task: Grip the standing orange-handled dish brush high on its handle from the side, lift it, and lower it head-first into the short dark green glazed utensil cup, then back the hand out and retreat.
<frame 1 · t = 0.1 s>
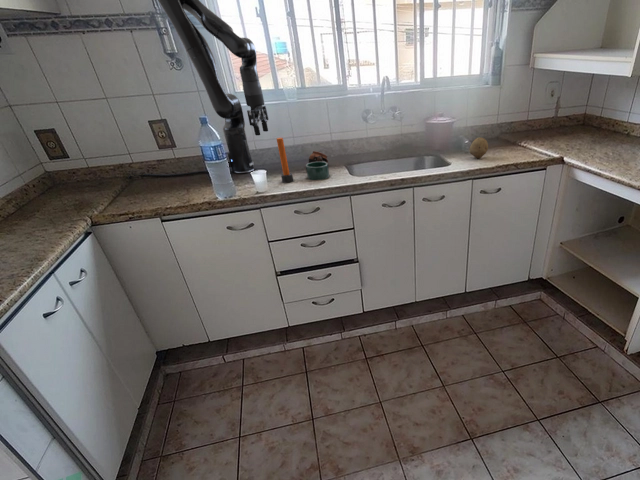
hand: (261, 133, 175), 17 cm above the worktop, tool pointing down, fingers open, 8 cm apart
dish brush: (287, 181, 171), on the worktop
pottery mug: (318, 167, 189), on the worktop
brown potato: (478, 159, 193), on the worktop
utensil cup: (318, 176, 175), on the worktop
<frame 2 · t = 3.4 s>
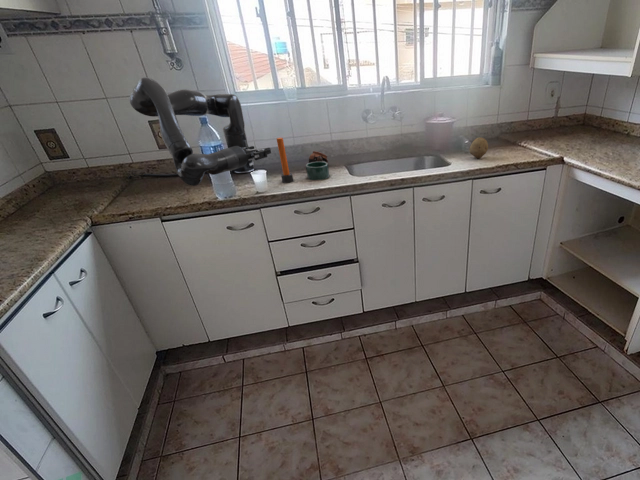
hand: (261, 149, 154), 16 cm above the worktop, tool horizontal, fingers open, 8 cm apart
nothing on the worktop moved.
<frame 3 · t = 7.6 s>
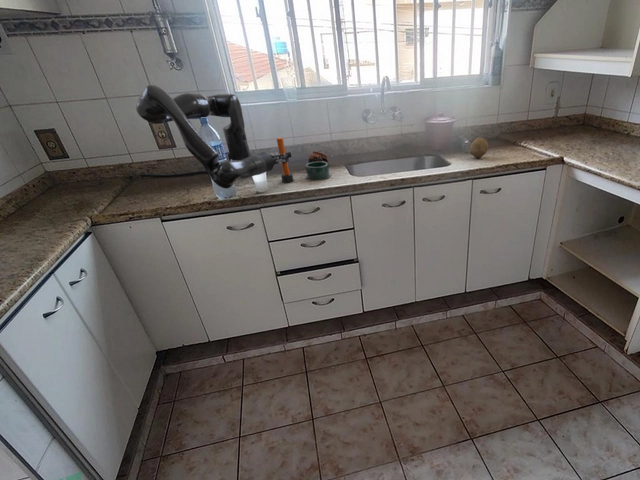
hand: (287, 154, 167), 11 cm above the worktop, tool horizontal, fingers closed on dish brush, 2 cm apart
dish brush: (287, 181, 171), on the worktop, touching gripper
everything else where it was.
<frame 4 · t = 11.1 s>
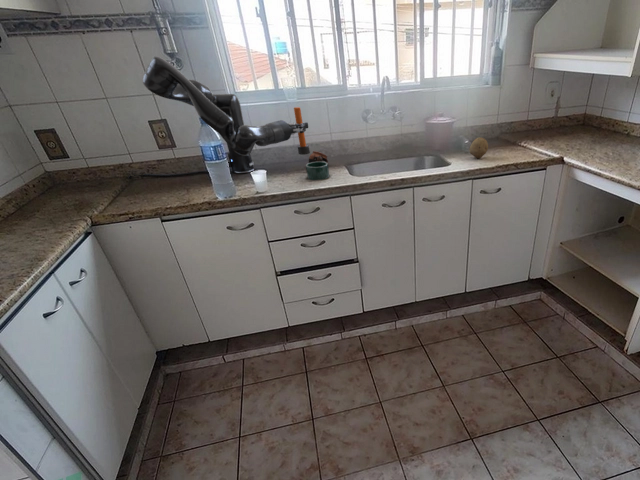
hand: (304, 124, 163), 22 cm above the worktop, tool horizontal, fingers closed on dish brush, 2 cm apart
dish brush: (304, 153, 167), point 11 cm above the worktop, touching gripper
everything else where it was.
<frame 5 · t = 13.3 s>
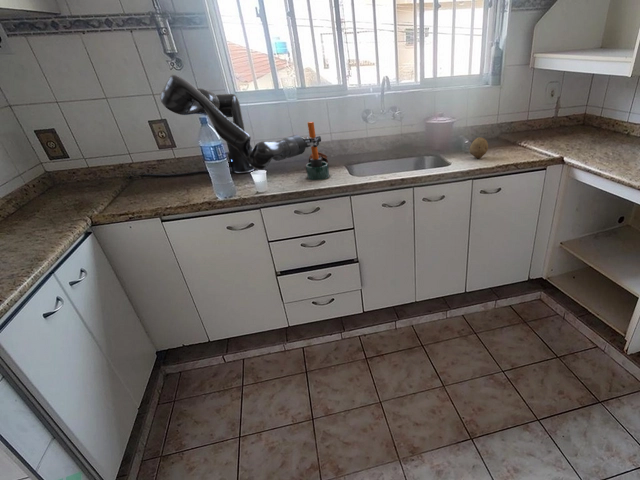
hand: (317, 138, 168), 16 cm above the worktop, tool horizontal, fingers closed on dish brush, 2 cm apart
dish brush: (316, 165, 172), point 5 cm above the worktop, touching gripper
everything else where it was.
when the fingers open (12 cm above the worktop, at t = 14.8 s): dish brush stays where it is, resting on utensil cup.
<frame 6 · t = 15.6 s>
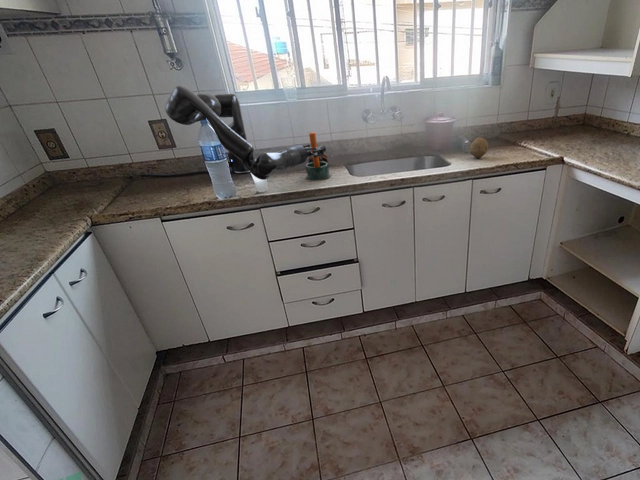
hand: (317, 147, 169), 12 cm above the worktop, tool horizontal, fingers open, 8 cm apart
dish brush: (318, 175, 174), point 1 cm above the worktop, touching utensil cup
everything else where it was.
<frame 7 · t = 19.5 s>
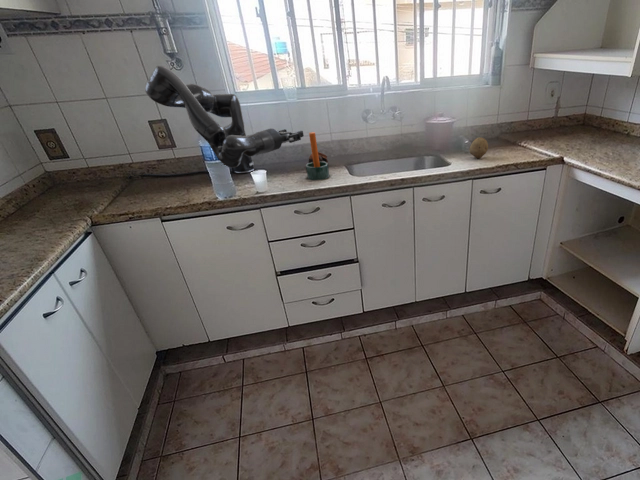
hand: (294, 132, 155), 21 cm above the worktop, tool horizontal, fingers open, 8 cm apart
nothing on the worktop moved.
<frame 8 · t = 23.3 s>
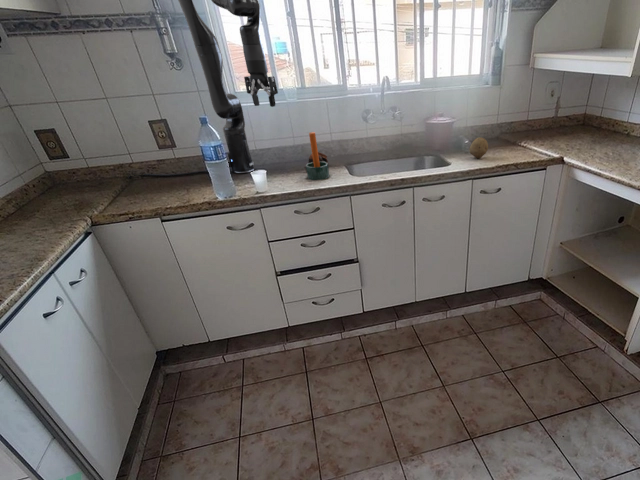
hand: (265, 106, 155), 30 cm above the worktop, tool pointing down, fingers open, 8 cm apart
nothing on the worktop moved.
at the end: dish brush 0.1 cm off-centre in the utensil cup, point 0.8 cm above the utensil cup's base; the gripper is holding nothing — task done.
